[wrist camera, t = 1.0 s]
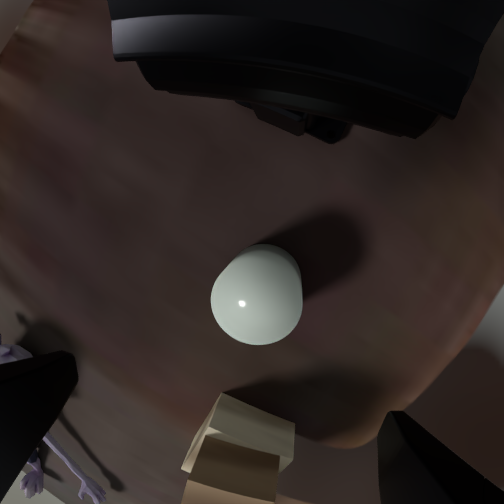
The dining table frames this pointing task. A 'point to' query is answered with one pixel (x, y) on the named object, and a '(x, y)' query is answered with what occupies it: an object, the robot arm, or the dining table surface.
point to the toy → (35, 477)
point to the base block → (245, 431)
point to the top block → (231, 475)
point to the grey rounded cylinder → (258, 295)
